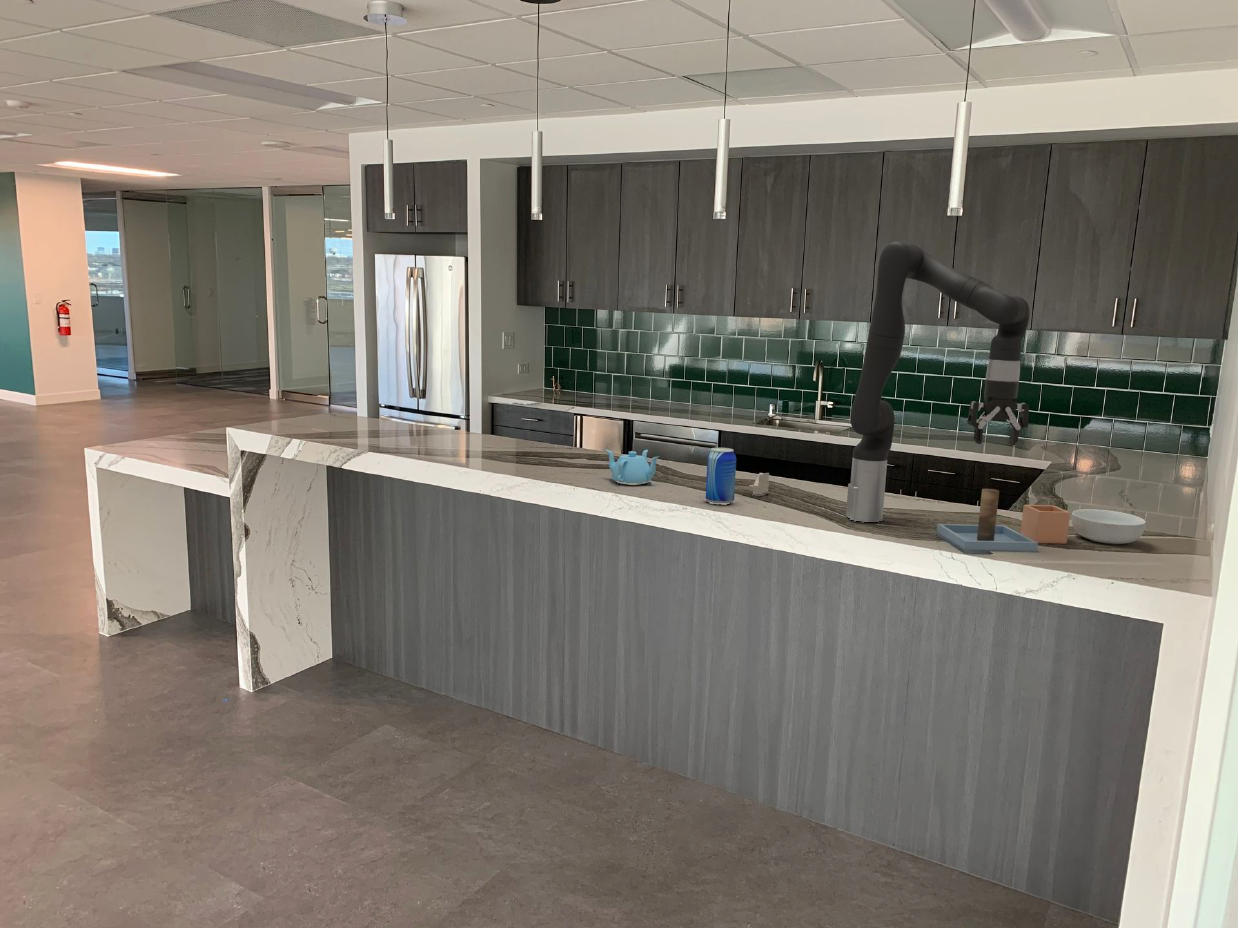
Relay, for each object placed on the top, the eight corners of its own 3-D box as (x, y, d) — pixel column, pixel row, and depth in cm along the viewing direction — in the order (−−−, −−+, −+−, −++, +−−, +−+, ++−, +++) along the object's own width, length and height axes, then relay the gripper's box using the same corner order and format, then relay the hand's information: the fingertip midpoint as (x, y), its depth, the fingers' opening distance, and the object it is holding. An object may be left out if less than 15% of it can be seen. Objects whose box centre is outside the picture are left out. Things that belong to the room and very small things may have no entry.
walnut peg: (980, 542, 232) (986, 491, 229) (974, 538, 236) (979, 488, 233) (996, 542, 232) (1002, 492, 229) (989, 538, 236) (995, 488, 233)
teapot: (614, 487, 291) (615, 455, 290) (603, 478, 306) (604, 447, 304) (659, 487, 295) (660, 455, 293) (646, 478, 309) (647, 447, 307)
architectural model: (748, 497, 285) (749, 473, 284) (760, 494, 291) (761, 470, 289) (757, 499, 283) (759, 475, 282) (769, 495, 288) (771, 472, 287)
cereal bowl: (1058, 540, 240) (1062, 514, 239) (1082, 531, 252) (1085, 506, 251) (1130, 554, 229) (1133, 526, 227) (1151, 544, 240) (1154, 517, 239)
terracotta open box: (1035, 545, 234) (1038, 511, 233) (1020, 537, 242) (1023, 504, 241) (1066, 546, 235) (1070, 512, 233) (1050, 538, 243) (1054, 505, 241)
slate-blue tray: (964, 553, 225) (965, 541, 224) (936, 535, 242) (937, 523, 242) (1036, 554, 225) (1038, 542, 225) (1003, 536, 243) (1004, 525, 243)
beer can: (719, 507, 268) (722, 452, 265) (699, 501, 274) (702, 448, 271) (739, 503, 273) (742, 450, 270) (719, 498, 279) (722, 446, 277)
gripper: (980, 379, 223) (973, 445, 225) (1038, 381, 223) (1030, 447, 226) (967, 376, 230) (961, 441, 233) (1023, 378, 231) (1016, 442, 233)
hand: (995, 444), depth 229 cm, fingers open, 8 cm apart
